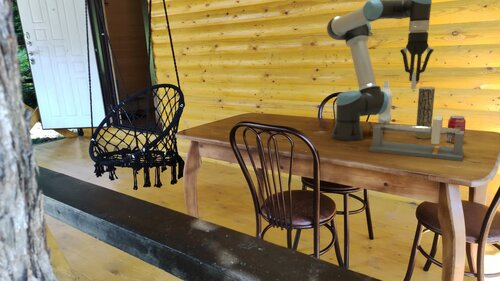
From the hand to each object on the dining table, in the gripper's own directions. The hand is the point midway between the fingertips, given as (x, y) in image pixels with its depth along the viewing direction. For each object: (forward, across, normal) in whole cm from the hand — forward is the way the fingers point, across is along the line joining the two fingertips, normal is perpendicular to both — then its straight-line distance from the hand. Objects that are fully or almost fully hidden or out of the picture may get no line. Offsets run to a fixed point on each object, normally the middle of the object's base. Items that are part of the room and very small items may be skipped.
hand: (413, 88), depth 156 cm
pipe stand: (+27, +4, -5) cm, 27 cm away
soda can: (+27, +17, +19) cm, 37 cm away
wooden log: (+27, +3, +22) cm, 35 cm away
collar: (+21, +11, -5) cm, 24 cm away
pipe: (+18, +3, -5) cm, 19 cm away
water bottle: (+28, -21, +49) cm, 60 cm away
